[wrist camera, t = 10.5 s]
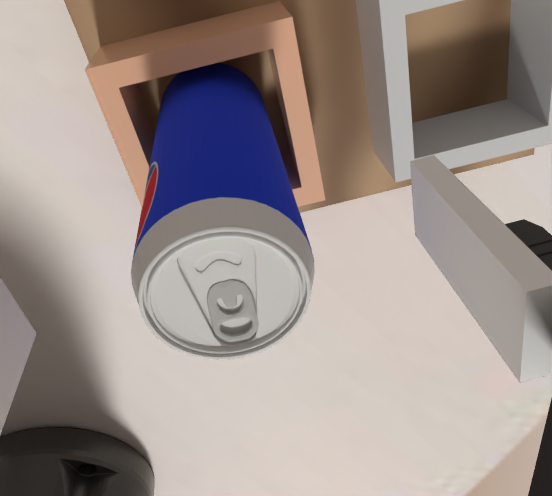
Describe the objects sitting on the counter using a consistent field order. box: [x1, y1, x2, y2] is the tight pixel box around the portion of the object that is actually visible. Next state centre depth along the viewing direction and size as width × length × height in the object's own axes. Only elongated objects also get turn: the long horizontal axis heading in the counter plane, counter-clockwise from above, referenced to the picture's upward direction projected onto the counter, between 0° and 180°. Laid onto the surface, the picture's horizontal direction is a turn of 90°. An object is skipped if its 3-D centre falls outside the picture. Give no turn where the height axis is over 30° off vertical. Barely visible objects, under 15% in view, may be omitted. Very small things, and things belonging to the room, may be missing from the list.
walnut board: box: [64, 0, 534, 212], centre depth 27 cm, size 22×14×2 cm, turn 102°
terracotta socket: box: [85, 1, 325, 207], centre depth 25 cm, size 8×8×4 cm
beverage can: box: [131, 63, 314, 360], centre depth 20 cm, size 5×5×15 cm
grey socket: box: [356, 0, 552, 182], centre depth 25 cm, size 8×8×4 cm
